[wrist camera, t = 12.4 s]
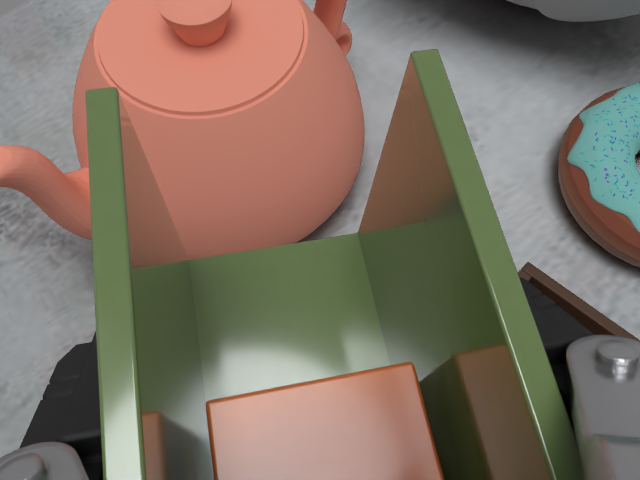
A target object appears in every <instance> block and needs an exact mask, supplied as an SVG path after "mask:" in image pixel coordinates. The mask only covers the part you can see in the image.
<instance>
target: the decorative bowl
mask: <svg viewBox="0 0 640 480" xmlns="http://www.w3.org/2000/svg"><path fill="white" fill-rule="evenodd" d="M507 1H509V2H512V3H515V4H518V5H522V6H525V7H529V8H534V9H538V10H539V11H540V12H541V13H542V14H543V15H545V16H547V17H549V18H551V19H555V20H560V21H568V22H586V21H600V20H609V19H616V18H622V17H627V16H631V15H636V14H639V13H640V0H507Z"/></svg>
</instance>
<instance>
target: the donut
mask: <svg viewBox="0 0 640 480" xmlns="http://www.w3.org/2000/svg"><path fill="white" fill-rule="evenodd" d="M639 152H640V83H635V84H632V85H629V86H627V87H624V88H620V89H617V90H614V91H611V92H608V93H605V94H604V95H602V96H601V97H599V98H597V99H596V100H594V101H592V102H591V103H590V104H589V105H587V106H586V107H585V108H584V109H583V110H582V111H581V112H580V113H579V114H578V115H577V116H576V117H575V118H574V119H573V120H572V122H571V123H570V125H569V127H568V128H567V130H566V132H565V134H564V137H563V140H562V144H561V147H560V151H559V161H558V178H559V183H560V188H561V193H562V195H563V197H564V200H565V202H566V205H567V207H568V209H569V211H570V212H571V214H572V215H573V217H574V218H575V220H576V221H577V223H578V224H579V226H580V227H581V228H582V229H583V230H584V231H585V232H586V233H587V234H588V235H589V236H590V237H591V238H592V239H593V240H594V241H595V242H596V243H598V244H599V245H600V246H601V247H603V248H604V249H605V250H607V251H608V252H609V253H611V254H613V255H614V256H616V257H618V258H620V259H622V260H623V261H625V262H627V263H629V264H632V265H634V266H637V267H640V173H639V171H638V169H637V166H636V162H635V154H637V153H639Z"/></svg>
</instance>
